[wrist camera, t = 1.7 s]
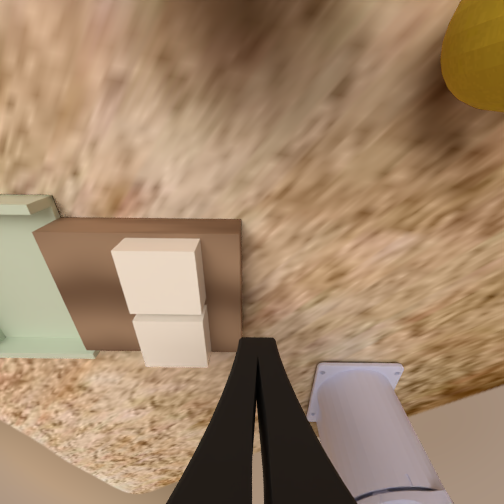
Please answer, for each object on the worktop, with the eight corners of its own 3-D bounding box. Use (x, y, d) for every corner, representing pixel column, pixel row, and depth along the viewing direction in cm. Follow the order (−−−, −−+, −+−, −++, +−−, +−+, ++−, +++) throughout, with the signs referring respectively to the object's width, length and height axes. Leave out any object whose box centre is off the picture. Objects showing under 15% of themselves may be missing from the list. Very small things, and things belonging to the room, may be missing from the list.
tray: (107, 339, 22) (95, 358, 20) (6, 338, 22) (-16, 357, 20) (51, 194, 16) (26, 204, 14) (-91, 193, 16) (-135, 202, 14)
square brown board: (242, 328, 21) (241, 351, 19) (102, 327, 21) (86, 350, 19) (241, 219, 16) (239, 234, 14) (60, 217, 16) (31, 232, 14)
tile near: (206, 297, 16) (201, 314, 15) (140, 297, 16) (130, 313, 15) (199, 238, 14) (194, 251, 13) (124, 237, 14) (110, 250, 13)
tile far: (211, 348, 19) (208, 367, 17) (154, 348, 19) (146, 366, 17) (206, 304, 17) (202, 321, 15) (142, 304, 17) (132, 321, 15)
